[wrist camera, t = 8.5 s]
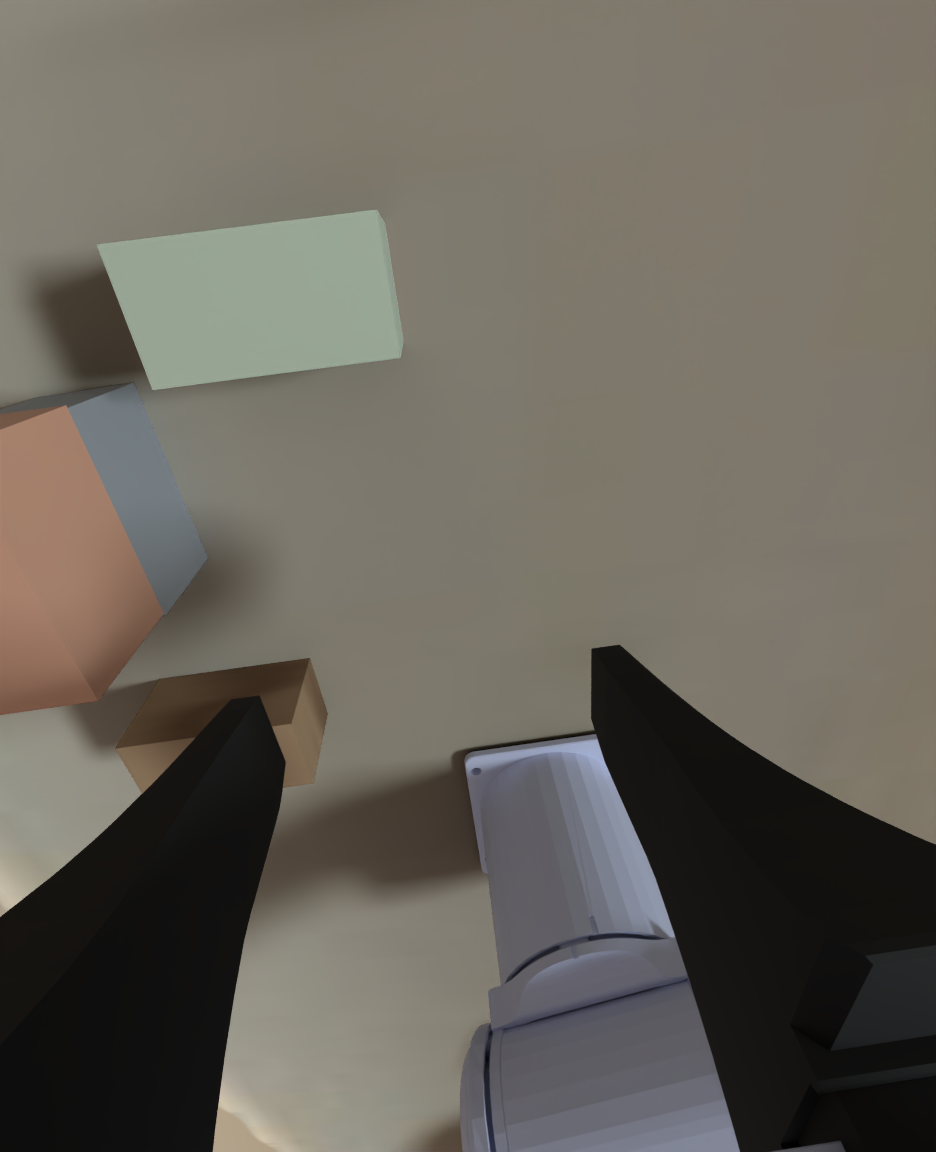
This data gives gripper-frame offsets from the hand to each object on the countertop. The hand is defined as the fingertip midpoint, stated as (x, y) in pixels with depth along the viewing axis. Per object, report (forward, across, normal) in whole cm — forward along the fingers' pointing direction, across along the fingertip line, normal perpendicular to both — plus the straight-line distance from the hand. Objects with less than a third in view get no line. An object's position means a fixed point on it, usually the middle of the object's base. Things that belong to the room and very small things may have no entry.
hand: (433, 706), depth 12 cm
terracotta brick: (+6, +10, -3) cm, 12 cm away
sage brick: (+10, +3, -8) cm, 13 cm away
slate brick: (+10, +10, -3) cm, 14 cm away
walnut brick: (+10, +9, +7) cm, 15 cm away
